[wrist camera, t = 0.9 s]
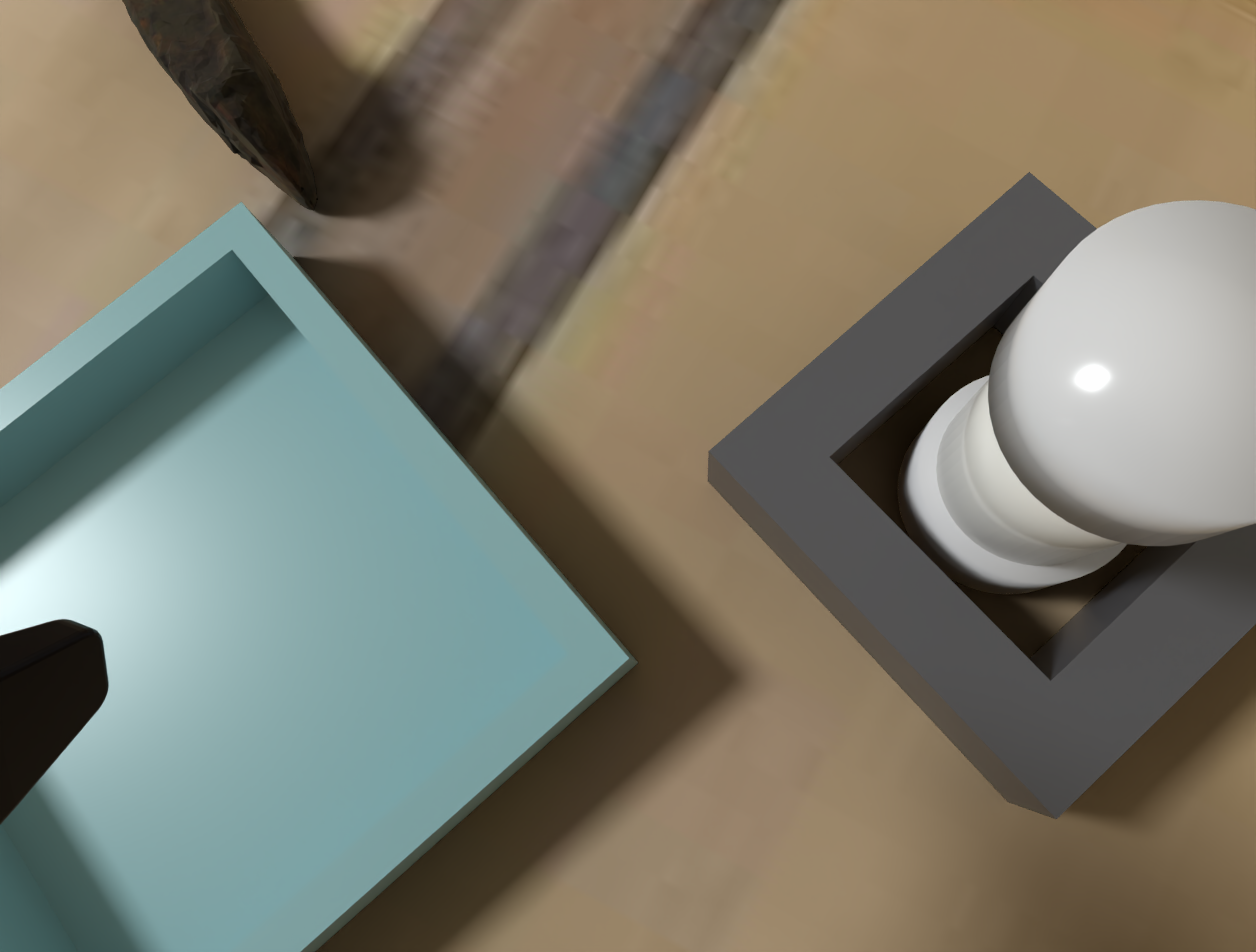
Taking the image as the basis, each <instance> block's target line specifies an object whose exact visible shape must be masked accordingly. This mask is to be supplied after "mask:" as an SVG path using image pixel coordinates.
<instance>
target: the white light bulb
mask: <svg viewBox="0 0 1256 952" xmlns="http://www.w3.org/2000/svg"><path fill="white" fill-rule="evenodd" d="M897 493H898V504H899V509H900V514H901V517H902V520H903V523H904V526H905V528H906V530H907V532H908V534H909V536H910V538H911V540H912V541H913V542H914V543H915V544H916V545H917V546H918V547H919V548H920V549H921V550H922V551H923V552H924V553H925V554H926V555H927V556H928V557H929V558H930V559H931V560H932V561H933V562H934V563H935V564H936V565H937V566H938V567H939V568H940V569H941V570H942V571H943V572H944V573H945V574H946V575H947V577H949V578H950V579H952V580H954V581H956V582H958V583H960V584H962V585H964V586H967V587H970V588H972V589H975V590H979V591H983V592H987V593H995V594H1021V593H1028V592H1032V591H1036V590H1039V589H1043V588H1046V587H1049V586H1053V585H1056V584H1059V583H1063V582H1066V581H1069V580H1072V579H1076V578H1079V577H1082V576H1084V575H1086V574H1089V573H1091V572H1094V571H1095V570H1097V569H1099V568H1100V567H1102V566H1104V565H1105V564H1107V563H1108V562H1109V561H1111V560H1112V559H1113V558H1114V557H1116V556H1117V555H1118V554H1119V553H1120V552H1121V551H1122V549H1123V548H1124V547H1125V546H1126V545H1127V544H1133V545H1141V546H1173V545H1180V544H1187V543H1192V542H1195V541H1199V540H1203V539H1206V538H1210V537H1213V536H1216V535H1220V534H1223V533H1226V532H1229V531H1233V530H1236V529H1239V528H1243V527H1246V526H1249V525H1252V524H1256V209H1252V208H1249V207H1246V206H1241V205H1235V204H1230V203H1224V202H1214V201H1201V200H1197V201H1175V202H1169V203H1162V204H1156V205H1152V206H1148V207H1145V208H1141V209H1138V210H1134V211H1132V212H1129V213H1127V214H1125V215H1122V216H1120V217H1117V218H1115V219H1113V220H1112V221H1110V222H1108V223H1106V224H1105V225H1103V226H1101V227H1100V228H1098V229H1096V230H1095V231H1094V232H1093V233H1091V234H1090V235H1089V236H1087V237H1086V238H1085V239H1084V240H1082V241H1081V242H1080V243H1079V244H1078V245H1077V246H1076V247H1075V248H1074V249H1073V250H1072V251H1071V252H1070V253H1069V254H1068V256H1067V257H1066V258H1065V259H1064V260H1063V262H1062V263H1061V264H1060V265H1059V266H1058V267H1057V269H1056V270H1055V271H1054V272H1053V273H1052V275H1051V276H1050V277H1049V278H1048V279H1047V281H1046V282H1045V283H1044V284H1043V285H1042V287H1041V288H1040V289H1039V290H1038V291H1037V293H1036V294H1035V295H1034V296H1033V297H1032V299H1031V300H1030V301H1029V302H1028V303H1027V305H1026V306H1025V307H1024V308H1023V309H1022V310H1021V312H1020V313H1019V314H1018V315H1017V316H1016V318H1015V319H1014V320H1013V322H1012V323H1011V325H1010V326H1009V327H1008V329H1007V330H1006V331H1005V333H1004V335H1003V337H1002V339H1001V341H1000V343H999V345H998V347H997V350H996V352H995V355H994V358H993V361H992V365H991V370H990V375H989V376H985V377H983V378H980V379H978V380H976V381H973V382H971V383H970V384H968V385H966V386H965V387H963V388H961V389H960V390H959V391H957V392H956V393H955V394H953V395H952V396H951V397H950V398H949V399H948V400H947V401H946V402H945V403H944V404H943V405H942V406H941V407H940V408H939V410H938V411H937V412H936V413H935V414H934V416H933V417H932V418H931V419H930V420H929V422H928V423H927V424H926V425H925V426H924V427H923V429H922V430H921V431H920V432H919V433H918V435H917V436H916V437H915V439H914V440H913V442H912V443H911V444H910V446H909V448H908V450H907V452H906V454H905V456H904V459H903V461H902V464H901V467H900V472H899V477H898V489H897Z"/></svg>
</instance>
